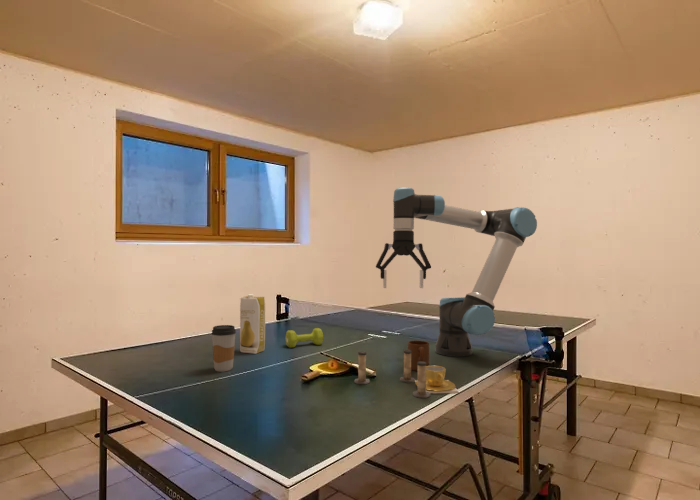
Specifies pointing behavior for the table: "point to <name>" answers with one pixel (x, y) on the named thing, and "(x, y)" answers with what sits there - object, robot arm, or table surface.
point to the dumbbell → (304, 337)
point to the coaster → (442, 391)
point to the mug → (418, 353)
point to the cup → (437, 379)
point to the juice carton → (252, 324)
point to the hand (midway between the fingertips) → (403, 288)
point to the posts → (407, 377)
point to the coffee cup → (223, 347)
